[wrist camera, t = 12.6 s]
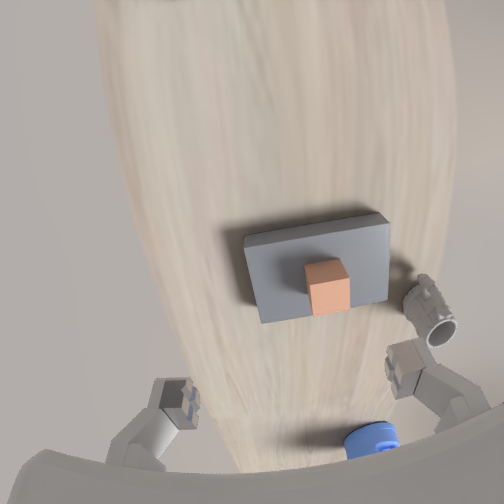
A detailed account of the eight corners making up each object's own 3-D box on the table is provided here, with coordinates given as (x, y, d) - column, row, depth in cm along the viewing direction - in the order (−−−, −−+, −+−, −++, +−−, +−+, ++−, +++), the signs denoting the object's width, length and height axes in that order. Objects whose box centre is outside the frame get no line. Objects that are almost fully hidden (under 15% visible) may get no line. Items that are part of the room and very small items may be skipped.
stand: (244, 235, 43) (243, 248, 40) (379, 212, 41) (390, 223, 38) (260, 307, 49) (261, 323, 45) (379, 286, 47) (387, 300, 43)
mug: (402, 321, 51) (426, 367, 40) (396, 272, 46) (427, 317, 35) (436, 306, 49) (464, 348, 39) (434, 256, 44) (470, 296, 34)
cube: (304, 264, 41) (309, 285, 36) (339, 258, 40) (349, 277, 36) (307, 294, 43) (313, 316, 38) (341, 288, 42) (350, 309, 38)
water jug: (354, 450, 76) (368, 524, 51) (335, 436, 71) (349, 523, 46) (399, 430, 72) (420, 505, 47) (385, 414, 66) (410, 502, 41)
